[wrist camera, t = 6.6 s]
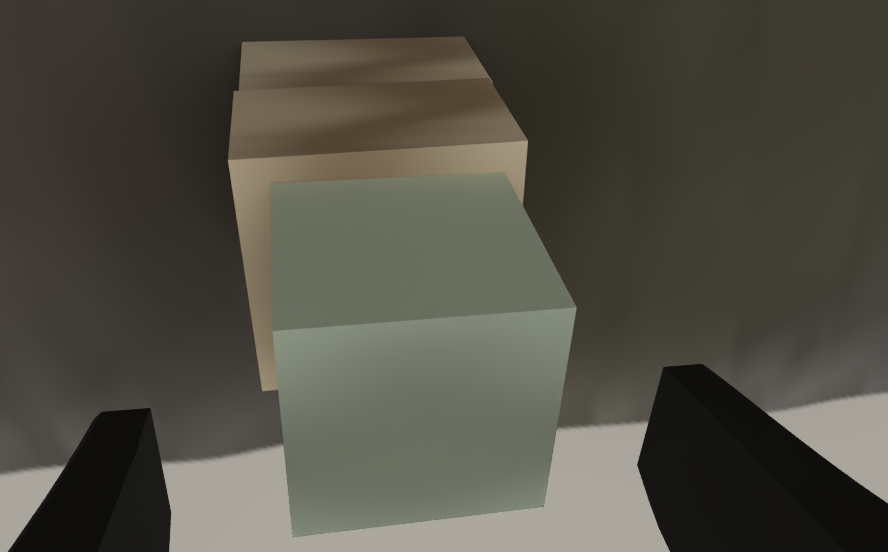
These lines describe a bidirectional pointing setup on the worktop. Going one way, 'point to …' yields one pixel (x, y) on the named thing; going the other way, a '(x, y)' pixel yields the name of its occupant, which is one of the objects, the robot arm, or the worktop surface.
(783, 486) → the robot arm
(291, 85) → the lower slab
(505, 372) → the green cube
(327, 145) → the upper slab
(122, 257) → the worktop surface
